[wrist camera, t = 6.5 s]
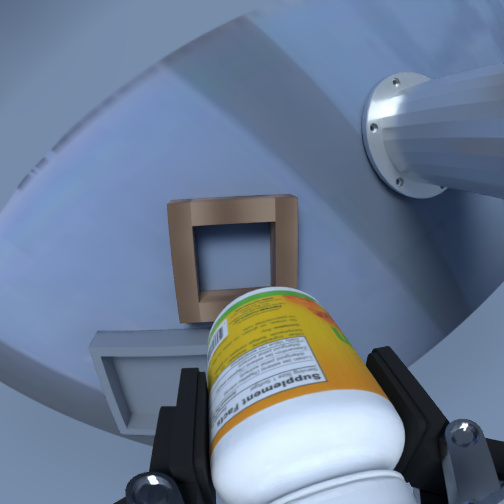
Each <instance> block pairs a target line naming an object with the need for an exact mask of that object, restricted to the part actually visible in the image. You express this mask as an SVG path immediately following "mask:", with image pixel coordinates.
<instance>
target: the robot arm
mask: <svg viewBox="0 0 504 504" xmlns="http://www.w3.org/2000/svg"><path fill="white" fill-rule="evenodd" d="M370 127H371V128H372V130H370ZM362 134H363V140H364V146H365V149H366V152H367V155H368V158H369V160H370V162H371V164H372V166H373V168H374V170H375V171H376V172H377V174H378V175H379V177H380V178H381V179H382V180H383V181H384V182H385V183H386V184H387V185H388V186H389V187H390V188H392V189H393V190H395V191H396V192H398V193H400V194H402V195H405V196H408V197H412V198H417V199H427V198H431V197H435V196H437V195H439V194H441V193H442V192H444V191H445V190H446V189H447V188H453V189H458V190H463V191H468V192H473V193H478V194H482V195H487V196H491V197H496V198H500V199H504V63H502V64H497V65H492V66H487V67H482V68H478V69H473V70H469V71H464V72H460V73H456V74H452V75H448V76H444V77H441V78H437V79H433V80H431V79H430V78H428V77H426V76H424V75H421V74H418V73H413V72H401V73H396V74H394V75H391V76H389V77H387V78H385V79H383V80H381V81H380V82H379V83H378V84H377V85H376V86H375V87H374V88H373V90H372V91H371V93H370V94H369V96H368V98H367V101H366V104H365V106H364V111H363V117H362ZM396 180H397V182H396ZM366 367H367V368H368V370H369V371H370V373H371V374H372V375H373V377H374V378H375V380H376V381H377V383H378V384H379V386H380V387H381V388H382V390H383V391H384V393H385V394H386V396H387V397H388V399H389V400H390V402H391V403H392V405H393V406H394V408H395V410H396V411H397V413H398V415H399V416H400V418H401V420H402V423H403V426H404V430H405V444H404V449H403V452H402V455H401V457H400V459H399V461H398V463H397V465H396V467H395V468H394V469H393V470H394V471H397V472H399V473H401V474H402V476H403V477H404V481H405V482H406V483H408V482H409V483H410V485H411V486H412V487H413V494H414V497H415V499H416V501H417V503H418V504H504V442H503V441H498V440H492V439H488V438H485V437H484V434H483V431H482V430H481V428H480V426H479V425H477V423H475V422H473V421H471V420H468V419H457V420H454V421H452V422H451V423H450V422H449V421H448V420H447V419H446V417H445V416H444V415H443V414H442V412H441V411H440V409H439V408H438V407H437V406H436V404H435V403H434V402H433V400H432V399H431V398H430V396H429V395H428V394H427V393H426V391H425V390H424V389H423V387H422V386H421V385H420V384H419V382H418V381H417V380H416V379H415V377H414V376H413V375H412V374H411V372H410V371H409V370H408V369H407V367H406V366H405V365H404V364H403V362H402V361H401V360H400V359H399V357H398V356H397V355H396V354H395V352H394V351H393V350H392V349H391V348H390V347H389V346H386V347H381V348H375V349H373V351H372V353H370V354H369V355H368V357H367V362H366ZM125 496H126V497H124V498H123V499H121V500H119V501H118V502H116V503H114V504H216V490H215V488H214V485H213V482H212V477H211V469H210V458H209V426H208V387H207V380H206V373H205V372H199V368H182V369H181V374H180V381H179V388H178V396H177V403H176V406H161V408H160V411H159V416H158V421H157V427H156V433H155V438H154V444H153V451H152V457H151V463H150V469H149V472H143V473H140V474H138V475H136V476H134V477H133V478H132V479H131V480H130V481H129V482H128V484H127V486H126V489H125Z"/></svg>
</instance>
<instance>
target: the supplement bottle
mask: <svg viewBox="0 0 504 504" xmlns="http://www.w3.org/2000/svg"><path fill="white" fill-rule="evenodd" d="M207 382H208V426H209V458H210V469H211V477H212V482H213V485H214V488H215V490H216V492H217V494H218V495H219V497H220V498H221V499H222V501H223V502H224V503H225V504H418V503H417V501H416V499H415V497H414V495H413V494H412V492H411V490H410V488H409V486H408V484H407V483H406V482H405V481H404V477H403V476H402V474H401V473H399V472H397V471H394V470H393V469H394V468H395V467H396V465H397V463H398V461H399V459H400V457H401V455H402V452H403V449H404V444H405V430H404V426H403V423H402V420H401V418H400V416H399V415H398V413H397V411H396V410H395V408H394V406H393V405H392V403H391V402H390V400H389V399H388V397H387V396H386V394H385V393H384V391H383V390H382V388H381V387H380V386H379V384H378V383H377V381H376V380H375V378H374V377H373V375H372V374H371V373H370V371H369V370H368V368H367V367H366V365H365V364H364V362H363V361H362V360H361V358H360V357H359V355H358V354H357V352H356V351H355V349H354V348H353V347H352V345H351V344H350V342H349V341H348V340H347V338H346V337H345V335H344V334H343V333H342V331H341V330H340V328H339V327H338V326H337V324H336V323H335V322H334V320H333V319H332V317H331V316H330V315H329V313H328V312H327V311H326V309H325V308H324V307H323V306H322V305H321V304H320V303H319V302H318V301H317V300H316V299H315V298H313V297H312V296H310V295H308V294H307V293H305V292H302V291H300V290H297V289H293V288H288V287H267V288H261V289H257V290H254V291H251V292H248V293H246V294H244V295H242V296H240V297H238V298H237V299H235V300H234V301H232V302H231V303H230V304H229V305H227V306H226V307H225V308H224V309H223V311H222V312H221V313H220V314H219V316H218V317H217V318H216V320H215V322H214V324H213V326H212V328H211V331H210V334H209V339H208V348H207Z"/></svg>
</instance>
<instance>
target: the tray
mask: <svg viewBox="0 0 504 504" xmlns="http://www.w3.org/2000/svg"><path fill="white" fill-rule="evenodd" d="M210 331H211V328H196V329H175V330H147V331H97V333H96V335H95V337H94V338H93V340H92V342H91V343H90V345H89V351H90V354H91V357H92V360H93V363H94V366H95V369H96V372H97V375H98V378H99V380H100V383H101V386H102V389H103V391H104V394H105V397H106V399H107V402H108V404H109V407H110V409H111V412H112V414H113V416H114V419H115V421H116V423H117V426H118V428H119V430H120V433H121V434H133V435H155V433H156V427H157V421H158V416H159V411H160V408H161V406H176V403H177V396H178V388H179V381H180V374H181V369H182V368H199V372H205V373H206V380H207V348H208V339H209V334H210ZM207 387H208V382H207Z"/></svg>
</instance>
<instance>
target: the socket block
mask: <svg viewBox="0 0 504 504" xmlns="http://www.w3.org/2000/svg"><path fill="white" fill-rule="evenodd" d="M167 212H168V224H169V235H170V246H171V256H172V265H173V274H174V282H175V290H176V298H177V306H178V313H179V320H180V323H196V322H213V321H215V320H216V318H217V317H218V316H219V314H220V313H221V312H222V311H223V309H224V308H225V307H226V306H227V305H229V304H230V303H231V302H232V301H234V300H235V299H237V298H238V297H240V296H242V295H244V294H246V293H248V292H251V291H254V290H257V289H261V288H267V287H255V288H241V289H227V290H211V291H200V288H199V277H198V266H197V254H196V242H195V228H194V226H202V225H218V224H235V223H253V222H270V258H271V286H268V287H288V288H293V289H297V274H298V197H295V196H293V195H291V194H284V195H256V196H234V197H215V198H199V199H185V200H171V201H170V202H169V203H168V204H167Z"/></svg>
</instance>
